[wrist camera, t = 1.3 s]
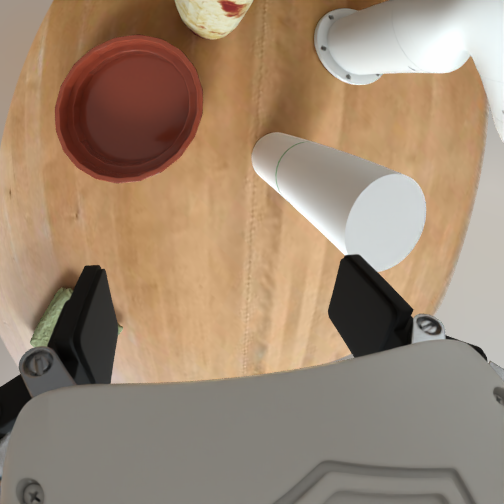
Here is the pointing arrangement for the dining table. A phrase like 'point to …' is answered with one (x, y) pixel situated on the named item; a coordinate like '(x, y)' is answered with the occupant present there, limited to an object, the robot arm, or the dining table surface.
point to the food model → (212, 16)
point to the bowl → (129, 108)
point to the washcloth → (52, 318)
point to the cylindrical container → (345, 197)
